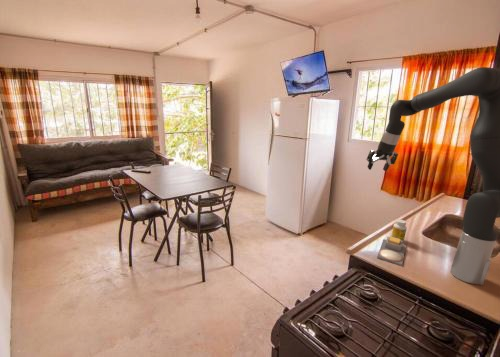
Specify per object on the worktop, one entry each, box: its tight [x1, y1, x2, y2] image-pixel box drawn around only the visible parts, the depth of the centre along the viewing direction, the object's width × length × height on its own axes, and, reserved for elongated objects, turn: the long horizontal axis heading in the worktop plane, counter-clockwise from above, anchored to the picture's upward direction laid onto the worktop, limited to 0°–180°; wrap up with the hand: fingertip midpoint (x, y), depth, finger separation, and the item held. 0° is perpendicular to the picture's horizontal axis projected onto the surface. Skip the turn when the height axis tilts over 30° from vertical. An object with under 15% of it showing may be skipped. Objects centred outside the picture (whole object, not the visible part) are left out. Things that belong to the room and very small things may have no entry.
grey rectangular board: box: [376, 236, 406, 267], centre depth 110 cm, size 9×18×3 cm, turn 146°
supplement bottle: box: [391, 218, 408, 242], centre depth 120 cm, size 5×5×10 cm
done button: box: [389, 236, 400, 245], centre depth 113 cm, size 4×4×2 cm
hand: (376, 169), depth 135 cm, fingers open, 8 cm apart
